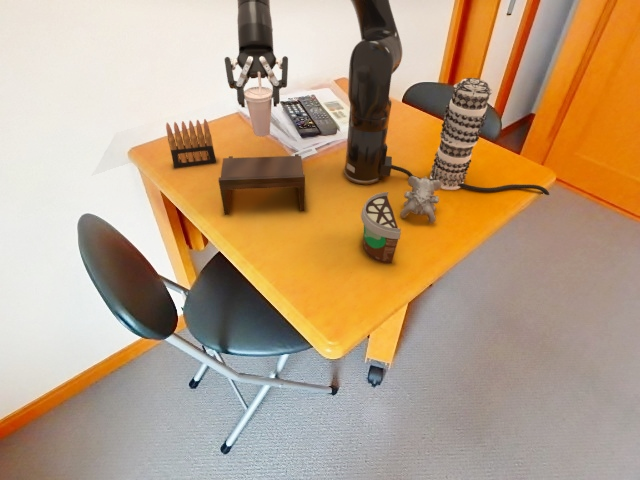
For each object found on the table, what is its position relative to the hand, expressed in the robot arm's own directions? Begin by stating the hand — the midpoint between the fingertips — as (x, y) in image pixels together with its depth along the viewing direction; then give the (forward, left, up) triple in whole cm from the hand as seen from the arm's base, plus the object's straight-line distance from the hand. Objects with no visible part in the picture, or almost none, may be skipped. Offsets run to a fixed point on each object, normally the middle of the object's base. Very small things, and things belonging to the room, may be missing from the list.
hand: (259, 105), depth 87 cm
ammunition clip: (+18, -8, -19) cm, 28 cm away
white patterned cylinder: (-46, +4, -19) cm, 50 cm away
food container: (-22, +27, -19) cm, 40 cm away
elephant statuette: (-35, +15, -19) cm, 42 cm away
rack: (0, +3, -19) cm, 19 cm away
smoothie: (0, -2, -8) cm, 8 cm away
